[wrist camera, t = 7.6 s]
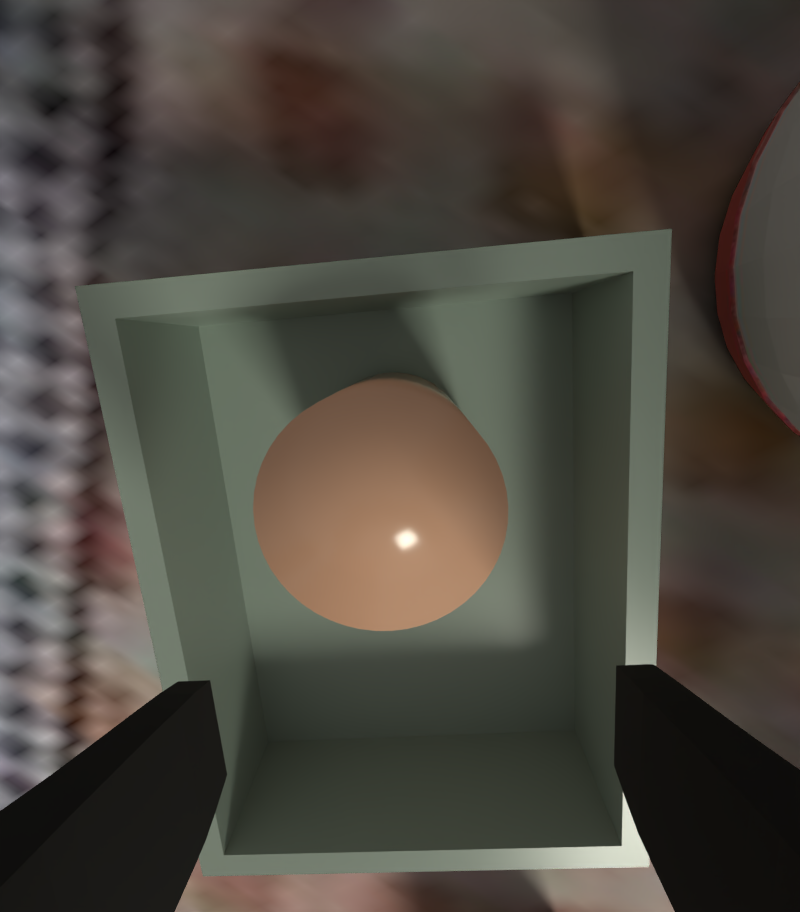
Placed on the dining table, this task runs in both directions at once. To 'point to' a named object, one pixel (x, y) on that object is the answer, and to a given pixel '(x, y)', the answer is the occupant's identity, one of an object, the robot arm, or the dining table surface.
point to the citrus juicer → (766, 267)
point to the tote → (438, 642)
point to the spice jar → (381, 505)
